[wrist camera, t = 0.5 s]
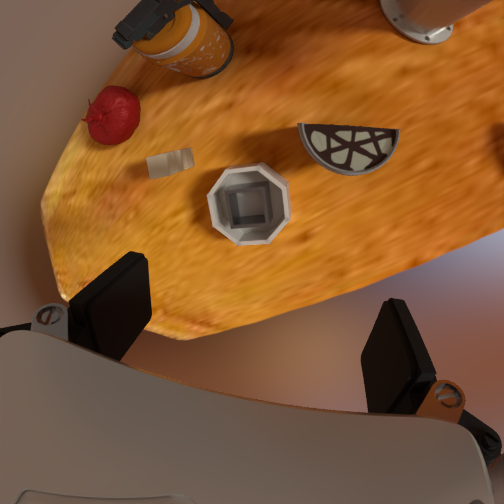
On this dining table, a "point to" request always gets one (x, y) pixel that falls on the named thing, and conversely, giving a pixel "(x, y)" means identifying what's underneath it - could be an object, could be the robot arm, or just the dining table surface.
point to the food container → (349, 146)
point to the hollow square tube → (234, 209)
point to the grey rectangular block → (170, 163)
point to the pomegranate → (113, 115)
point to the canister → (178, 35)
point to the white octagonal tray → (250, 203)
